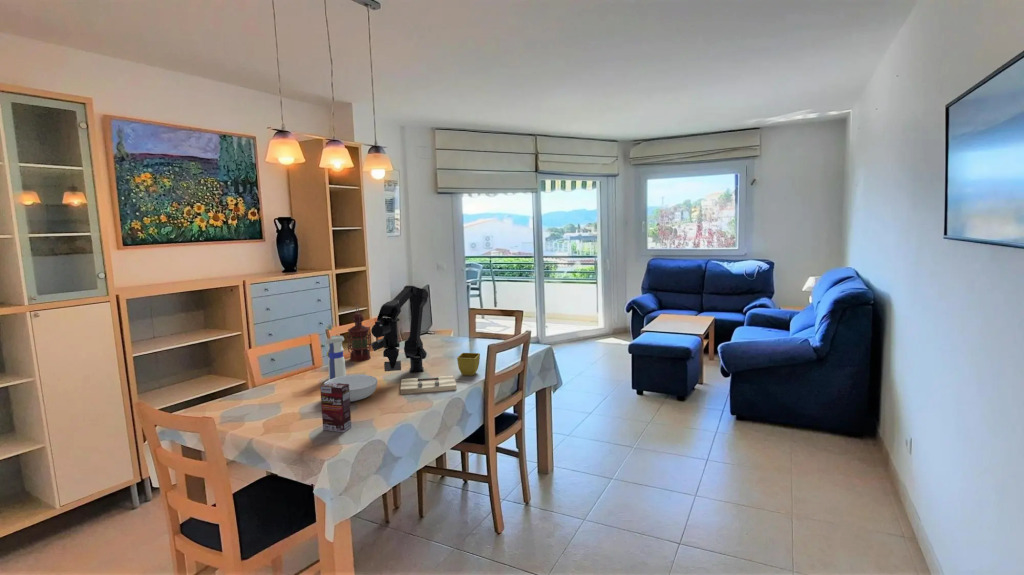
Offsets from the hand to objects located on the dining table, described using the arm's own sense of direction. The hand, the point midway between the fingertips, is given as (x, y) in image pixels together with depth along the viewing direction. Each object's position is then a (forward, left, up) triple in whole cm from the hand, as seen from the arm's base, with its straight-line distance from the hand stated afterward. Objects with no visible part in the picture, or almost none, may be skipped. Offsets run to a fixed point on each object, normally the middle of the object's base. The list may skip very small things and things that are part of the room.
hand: (392, 367), depth 227 cm
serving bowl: (+16, -16, -7) cm, 24 cm away
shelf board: (+9, +15, -7) cm, 19 cm away
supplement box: (+48, -17, -7) cm, 51 cm away
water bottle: (-13, -26, -7) cm, 30 cm away
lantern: (-46, -19, -7) cm, 50 cm away
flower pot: (-5, +34, -7) cm, 35 cm away
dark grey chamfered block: (0, 0, -1) cm, 1 cm away
